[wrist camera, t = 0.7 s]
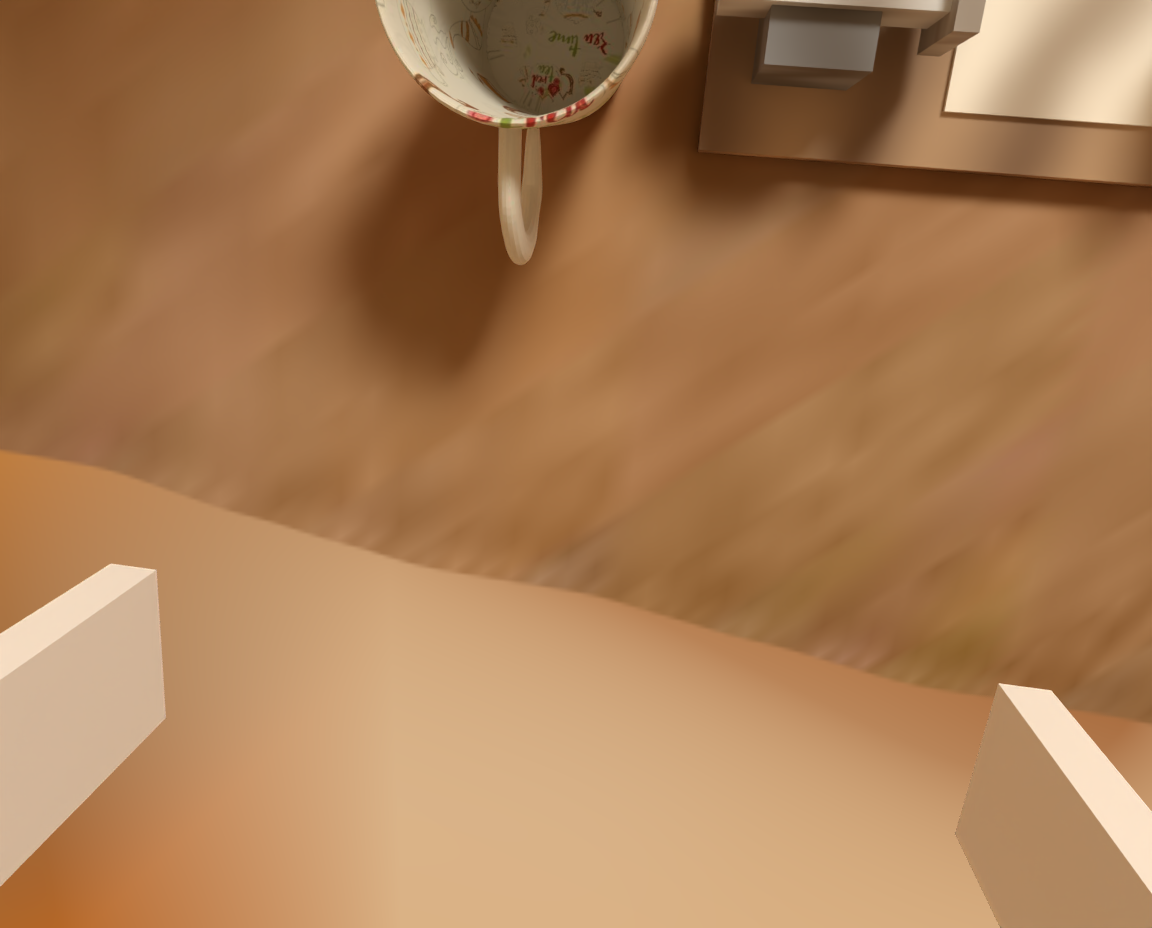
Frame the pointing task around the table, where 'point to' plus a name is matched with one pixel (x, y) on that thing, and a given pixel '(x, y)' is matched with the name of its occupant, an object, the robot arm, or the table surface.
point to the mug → (518, 75)
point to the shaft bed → (936, 85)
